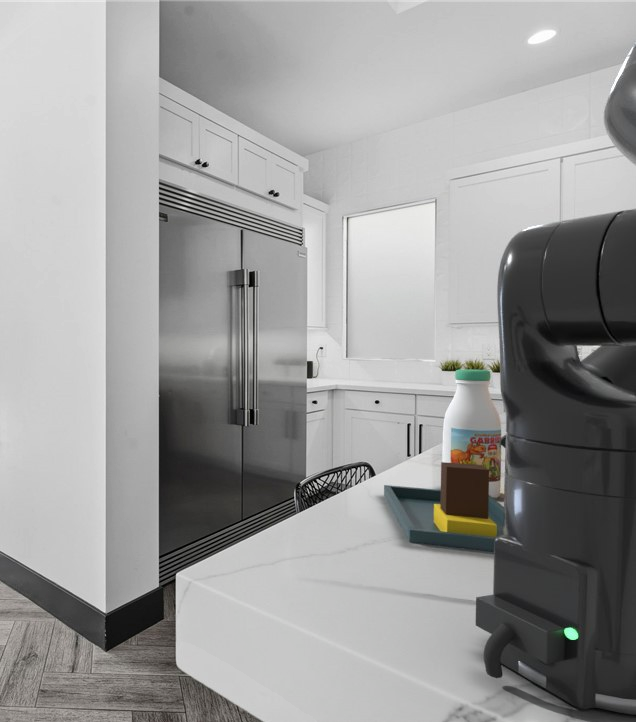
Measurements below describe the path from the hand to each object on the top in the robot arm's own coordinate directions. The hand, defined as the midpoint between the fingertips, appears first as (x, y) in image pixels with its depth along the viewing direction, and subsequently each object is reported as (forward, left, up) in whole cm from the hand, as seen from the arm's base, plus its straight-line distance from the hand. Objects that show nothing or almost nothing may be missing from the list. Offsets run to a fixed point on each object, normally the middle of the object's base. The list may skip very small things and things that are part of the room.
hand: (517, 454), depth 64 cm
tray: (-1, +7, -11) cm, 13 cm away
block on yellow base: (-4, +3, -10) cm, 12 cm away
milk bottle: (+15, +18, -11) cm, 26 cm away
